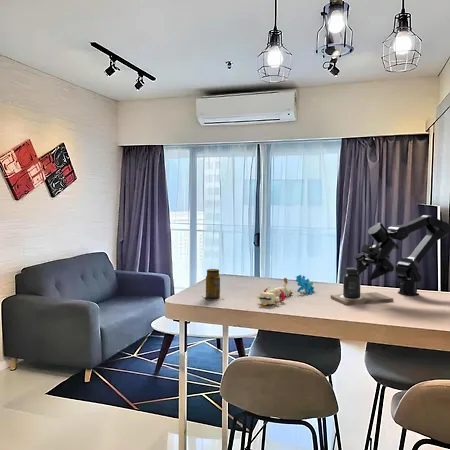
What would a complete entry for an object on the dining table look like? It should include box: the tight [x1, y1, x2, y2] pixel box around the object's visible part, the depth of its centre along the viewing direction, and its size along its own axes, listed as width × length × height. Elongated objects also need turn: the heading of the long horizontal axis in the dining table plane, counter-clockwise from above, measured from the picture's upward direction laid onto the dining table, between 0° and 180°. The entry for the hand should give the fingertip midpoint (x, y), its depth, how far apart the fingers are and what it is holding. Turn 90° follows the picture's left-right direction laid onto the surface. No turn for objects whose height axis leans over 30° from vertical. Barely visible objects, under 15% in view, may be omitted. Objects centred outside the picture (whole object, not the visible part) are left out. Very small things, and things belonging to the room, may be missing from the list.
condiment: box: [202, 268, 224, 301], centre depth 185 cm, size 7×8×12 cm
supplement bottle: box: [342, 267, 361, 299], centre depth 180 cm, size 7×7×12 cm
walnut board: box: [330, 291, 394, 306], centre depth 182 cm, size 22×12×1 cm, turn 105°
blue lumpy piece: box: [295, 274, 315, 295], centre depth 197 cm, size 11×6×10 cm
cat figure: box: [256, 277, 294, 306], centre depth 182 cm, size 10×9×25 cm
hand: (362, 277), depth 183 cm, fingers open, 9 cm apart
